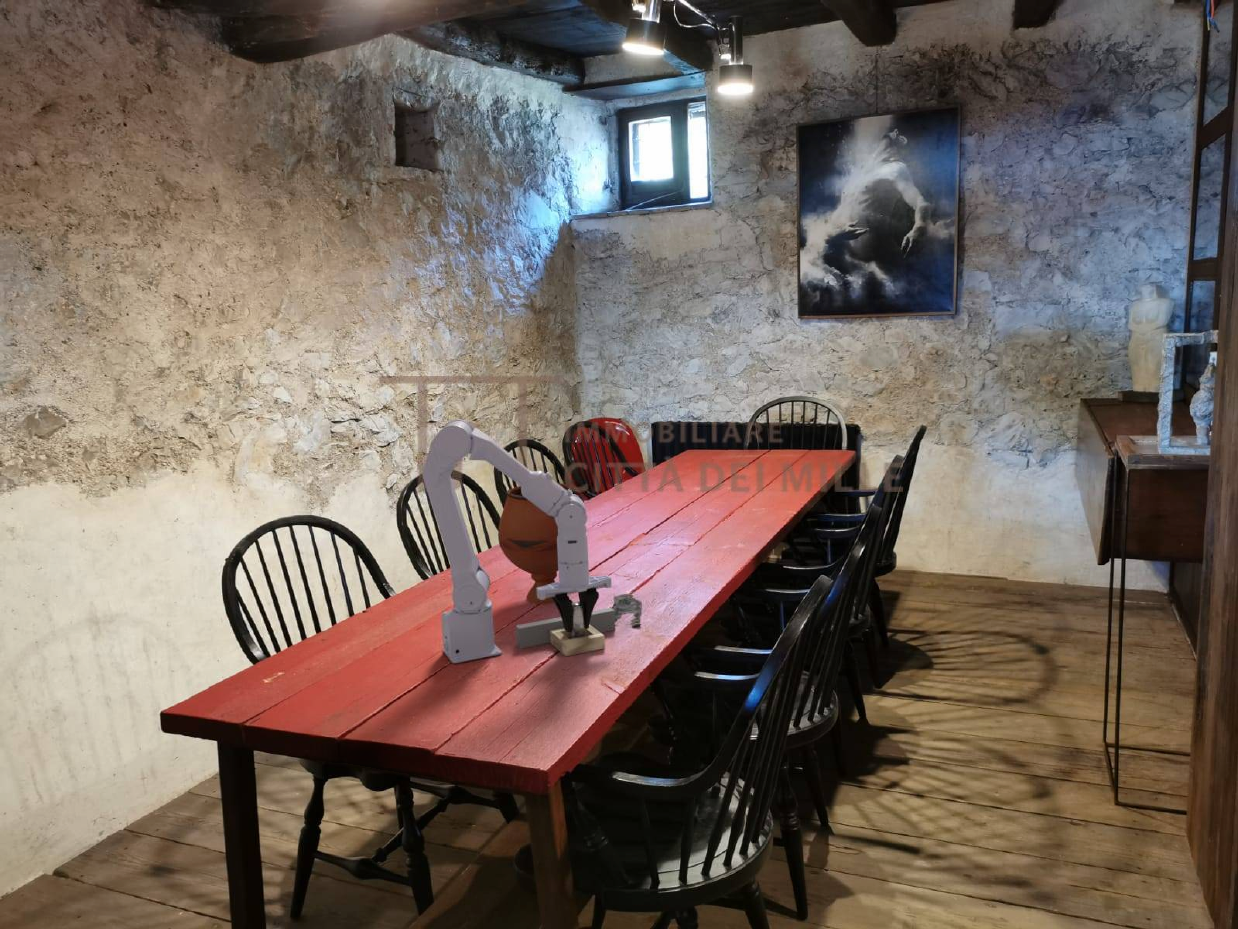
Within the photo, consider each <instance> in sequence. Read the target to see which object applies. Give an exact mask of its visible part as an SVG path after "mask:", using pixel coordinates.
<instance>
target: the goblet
mask: <svg viewBox="0 0 1238 929" xmlns="http://www.w3.org/2000/svg"><path fill="white" fill-rule="evenodd" d="M557 483H558V484H559V485H560V486H561V487H563V488H564V489H565V490H568V489H569V490H571V491H572V492H573V489H572V487H571V486H570V485H568V484H567V483H566V484H565V483H561V482H557ZM499 520H500V521H499V524H498V530H497V531H498V532H497V538H498V544H499V547H500V549H501V551H502V553H503V554H504V556H505V557H506V558H507V559H508V560H509V561H510V563H511V564H513V565H514V566H515V567H517V568H518V569H520V570H522V571H523V572H526V573H528V574H530V579H531V580H533V581H534V584H533V585H532V587H531V588H530V589H529V591H528V592H527V595H526V600H527V601H528V602H529V603H532V604H539V605H540V604H541V605H543V604H544V605H545V604H552V603H554V601H553V599H552V597H548V598H546V599H544V600H540V599H539V598H537V587H542V586H546V585H549V584H552V583H555V582H556V581H555V579H556V578H557V577H558V572H559V570H558V550H557V536H558V526H557V524H556V522H555V517H554V516H550V515H547V514H546V513H545V512H544V511H542V510H541V509H540V508H538V507H537V506H536V505H534V504H533V503H532V502H531V501H529V500H528V499H527V498H525V497H524V496H523V495H522V492H521V486H520V485H519V486H515V487H513V488H510V489H508V490H507V491H506V500H505V503H504V506H503V509H502V512H501V516H500V519H499Z"/></svg>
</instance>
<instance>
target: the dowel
mask: <svg viewBox="0 0 1238 929" xmlns="http://www.w3.org/2000/svg"><path fill="white" fill-rule="evenodd" d="M571 622H572V632H569V636H570V639H575V638H580V637H585V621H584V603H583V602H580V601H572V608H571Z"/></svg>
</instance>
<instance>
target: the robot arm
mask: <svg viewBox="0 0 1238 929" xmlns="http://www.w3.org/2000/svg"><path fill="white" fill-rule="evenodd" d="M468 454H469V458H468V460H469V461H484V462H487V463H488V464H489V465H491V466H492V467H494V468H495V469H497V470H498V471H499V472H501V473H502V474H504V475H505V476H507V477H508V478H510V479H512V480H513V482H515V483H517V484H518V485H519V487H520V486H521V492H522V495H523V496H524V497H525V498H527V499H528V500H529V501H531V502H532V503H533V504H534V505H536V506H537V507H538V508H540V509H541V510H542V511H544V512H545V513H546V514H547V515H550V516H554V517H555V522H556V524H557V526H558V536H557V550H558V570H559V571H558V581H555V583H552V584H549V585H546V586H542V587H537V598H539V599H540V600H544V599H546V598H548V597H552V599H553V601H554V602H553V603H554V604H555V606H556V609H557V610H558V613H559V616H560V617H561V618H562V621H563V625H564V629H565V630H566V631H567V632H572V622H571V608H572V602H573V600H572V599H570V596H569V594H576V593H577V594H578V600H579V601H578V602H583V603H584V621H585V629H589V624H590V619H591V615H592V611H594V608H595V606H596V604H597V602H598V600H599V598H600V593H599V592H598V591H597V590H599V589H603V588H605V589H611V588H612V577H611V576H609V575H599V576H590V569H589V567H590V566H589V545H588V544H589V543H588V535H587V534H586V533H587V525H586V524H587V521H588V515H587V509H586V505H585V503H584V501H583V500H582V499H581V498H580V495H577V494H573V490H572V491H571V490H569V489H568V490H565V489H564V488H563V487H561V486H560V485H559V484H558V483H559V482H556V481H555V479H553V474H552V473H551V472H549V471H547V472H546V473H545V472H544V471H542V470H534V471H532V470H530V469H529V468H527V467H526V466H525V465H523V463H522V462H520V461H519V460H518V459H516V457H514V456H513V455H512V454H511V453H509V451H507V450H505V448H503V447H502V446H501V445H500V444H498V443H497V442H496V441H495V440H493V438H492V437H490V436H488V435H487V434H486V433H485V432H483V431H482V430H480V429H478V427H475V428H474V427H473V426H472V425H471V424H470V422H468V421H466V420H465V419H453V420H450V421H448V422H447V423H446V424H445V425H444V426H443V428H441V429H440V430H439V431H438V432H437V433H436V435H435V436H434V438H433V439H432V441H430V444H429V449H428V452H427V455H426V459H425V461H424V465H423V468H422V474H421V475H422V478H423V481H424V484H425V489H426V491H427V494H428V498H429V501H430V505H431V508H432V510H433V514H434V517H435V520H436V524H437V525H438V530H439V533H440V536H441V539H442V543H443V545H444V549H445V552H446V556H447V559H448V562H449V565H450V577H451V581H452V584H453V585H452V586H453V587H452V588H453V590H452V595H451V598H452V602H453V606H452V609H449V610H448V611H447V610H446V611H444V612H442V613H441V633H442V646H443V648H442V651H443V652H444V653H445V655H446V656H447V658H448V659H449V660H450V662H451V663H452V664H458V663H464V662H468V661H472V660H473V661H474V660H479V659H483V658H489V657H494V656H499V655H502V652H503V651H502V650H501V649H500V648H499V647H498V646H497V645H496V644H495V630H494V628H495V627H494V617H493V616H494V614H493V602H492V600H490V599H489V597H488V591H489V589H490V587H491V578H490V576H489V573H487V571H486V570H485V569H484V568H483V567H482V566H481V563H480V560H479V558H478V556H477V555H476V553H475V550H474V546H473V544H472V541H471V537H470V534H469V531H468V528H467V525H466V521H465V518H464V515H463V512H462V508H461V504H460V502H459V499H458V496H457V495H458V494H457V492H456V489H455V485H454V483H453V479H452V473H453V471H454V470H455V467H456V466H457V464H458V463H459V462H460V461H461V460H463V458H465V457H466V456H467V455H468Z"/></svg>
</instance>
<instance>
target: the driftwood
mask: <svg viewBox="0 0 1238 929" xmlns="http://www.w3.org/2000/svg"><path fill="white" fill-rule="evenodd" d="M613 598H614V599H613V600H614V603H613V608H612V609H613V610H615V623H617V622H618V620H619V619H621V618H622V615H626V614H633V617H634V618H633V619H631V620H630V623H627V624H625V626H627V625H630V626H631V628H633V627H635V626H641V625H642V623H641V614H642V606H643V603H642V602H641V601H640V600H638V599H636V598H635V597H634V595H633V594H630V593H623V594H622V593H621V594H619V595H615V596H613ZM617 626H618V624H615V627H617Z"/></svg>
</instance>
